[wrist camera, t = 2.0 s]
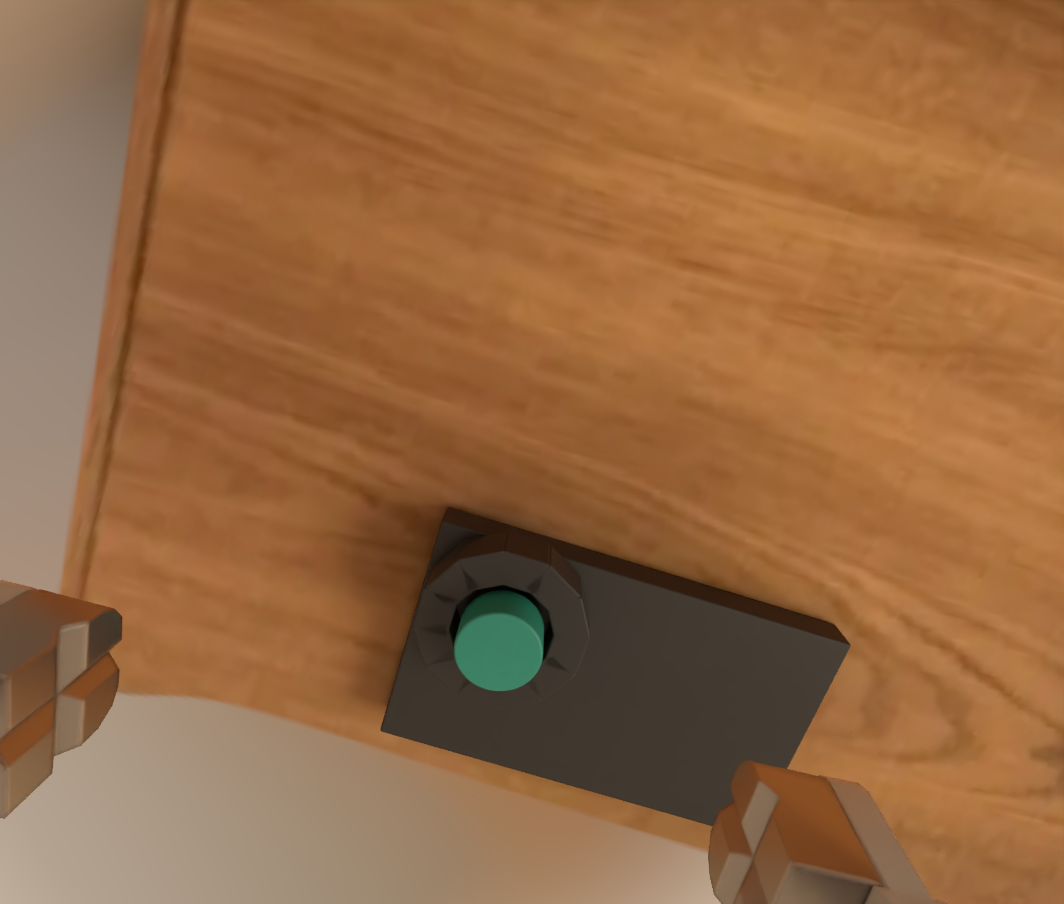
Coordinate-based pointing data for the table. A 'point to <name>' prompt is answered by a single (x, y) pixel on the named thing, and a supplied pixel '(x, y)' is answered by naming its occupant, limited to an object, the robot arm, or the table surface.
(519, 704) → the scale
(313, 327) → the table surface
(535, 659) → the button
